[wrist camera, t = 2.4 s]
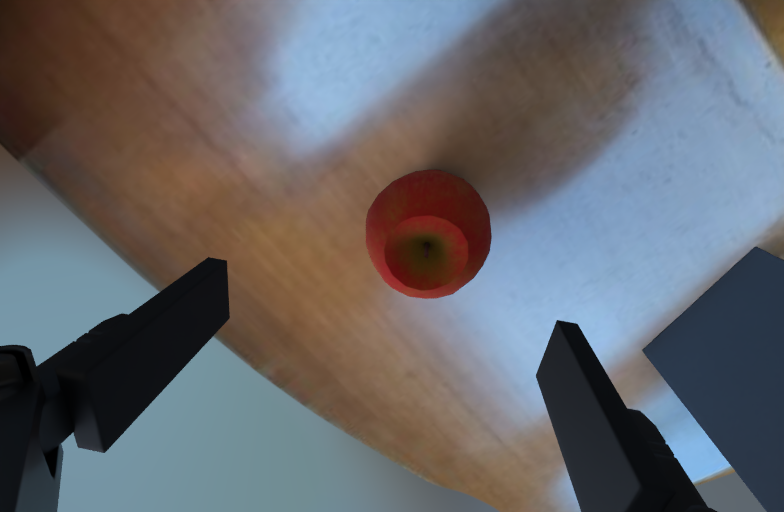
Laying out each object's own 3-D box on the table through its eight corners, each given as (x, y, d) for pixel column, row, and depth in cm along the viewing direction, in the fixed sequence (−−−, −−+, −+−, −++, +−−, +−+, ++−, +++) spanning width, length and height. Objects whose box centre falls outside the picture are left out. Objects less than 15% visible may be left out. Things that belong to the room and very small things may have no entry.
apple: (467, 263, 33) (478, 336, 23) (372, 244, 33) (343, 308, 24) (494, 165, 29) (520, 203, 20) (387, 145, 30) (361, 173, 20)
